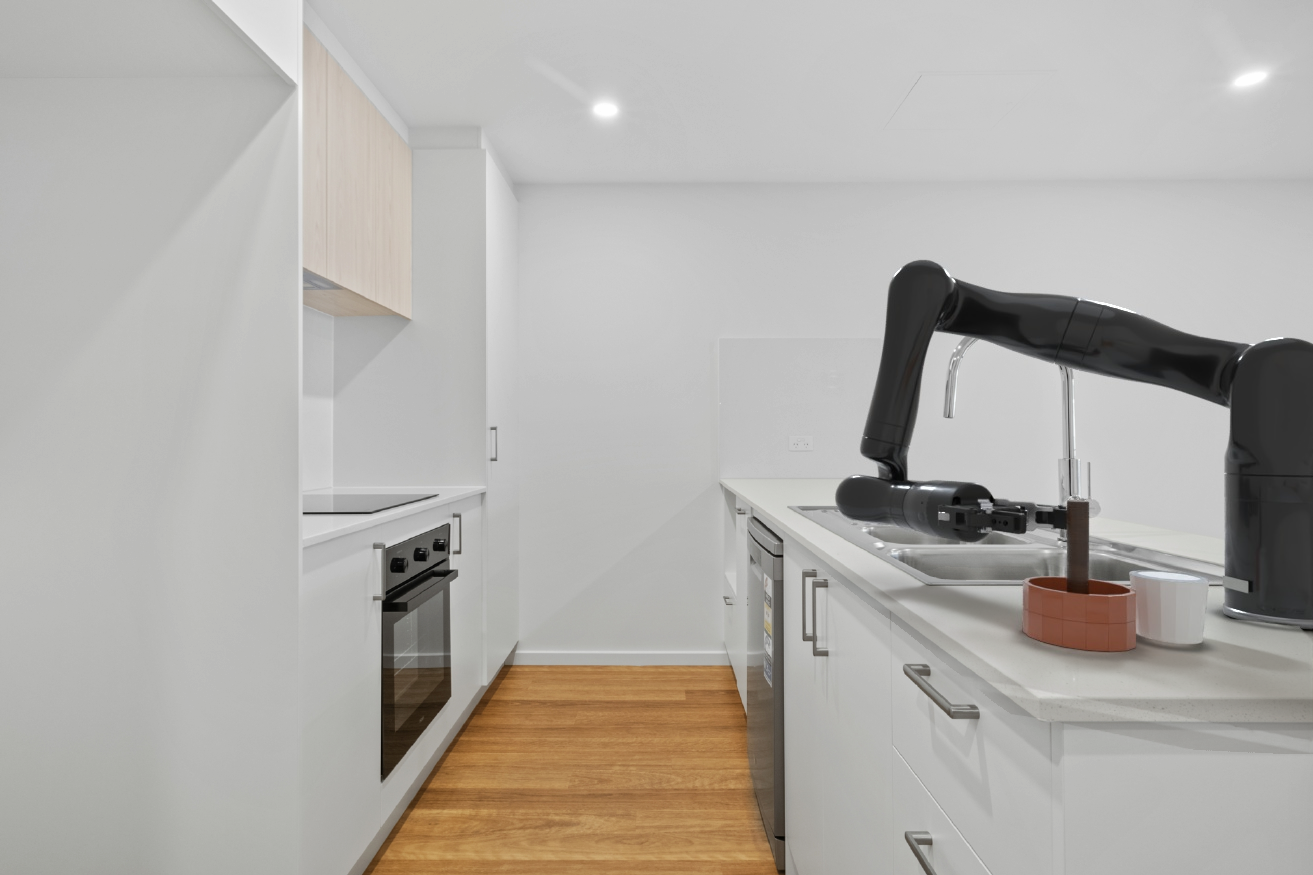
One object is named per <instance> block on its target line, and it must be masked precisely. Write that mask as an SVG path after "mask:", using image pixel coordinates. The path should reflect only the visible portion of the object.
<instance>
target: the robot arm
mask: <svg viewBox="0 0 1313 875" xmlns="http://www.w3.org/2000/svg"><path fill="white" fill-rule="evenodd" d="M885 312H886V313H885V325H884V326H885V327H884V336H883V343H882V349H881V356H880V362H879V366H878V370H877V371H878V372H877V375H876V376H877V377H876V380H875V385H874V388H873V392H872V396H871V400H870V404H869V408H868V412H867V416H866V420H865V424H864V427H863V431H862V436H861V440H860V444H859V452H860V454H861V456H862V457H864V459H867V460H869V461H872V462H874V463H875V464H876V466H877V476H871V475H865V474H852V475H849V476H847V477H845V478H844V479H843V480H842V481H840V483H839V484H838V486H837V487H836V490H835V493H834V502H835V505H836V508H837V510H838V511H839V513H840V514H841V515H842V516H843V517H845V518H846V519H848V520H851V521H856V522H860V523H861V522H862V523H869V524H875V525H881V526H892V527H897V528H900V529H903V530H908V531H914V532H919V533H923V534H925V535H927V536H931V537H935V538H936V537H937V538H942V539H947V540H952V541H957V542H963V543H968V544H969V543H977V542H981V541H982V540H984V539H985V538H987V537H988V536H989V535H990V534H993V532H999V533H1000V532H1001V533H1006V534H1008V533H1009V534H1013V535H1025V534H1026V533H1027V532H1034V531H1035V530H1037V529H1038V528H1039V529H1050V530H1053V531H1054V530H1055V531H1056V530H1065V531H1067V506H1064V505H1062V504H1057V505H1052V504H1041V503H1036V502H1035V501H1026V500H1025V501H1024V500H1021V501H1020V500H1011V499H1009V498H1005V497H1003V498H1002V497H1001V498H1000V497H994V496H993V494H992V492H991V491H990V490H989V489H988V488H987V487H986V486H984V485H982V484H980V483H978V482H970V481H957V480H943V479H942V480H941V479H932V480H918V479H917V480H916V479H909V471H908V470H909V468H908V467H909V466H908V457H909V456H908V455H909V451H910V446H911V443H912V439H913V437H914V436H913V435H914V431H915V428H916V424H917V419H918V414H919V408H920V401H921V390H922V381H923V380H922V379H923V374H924V367H925V363H926V357H927V353H928V350H929V346H930V343H931V340H932V337H933V335H934V333H935V332H936V333H941V334H949V335H954V336H955V335H956V336H961V337H967V338H971V339H977V340H981V341H984V342H987V343H990V344H993V345H997V346H999V347H1002V348H1004V349H1007V350H1008V351H1009V350H1010V351H1012V352H1015V353H1017V354H1021V355H1024V356H1026V357H1030V358H1033V359H1036V360H1040V361H1042V362H1043V361H1044V362H1046V363H1050V364H1054V365H1056V366H1061V367H1064V368H1067V369H1071V370H1076V371H1080V372H1084V373H1089V374H1093V375H1098V376H1103V377H1107V378H1113V379H1118V380H1123V381H1128V382H1134V383H1140V384H1145V385H1146V384H1148V385H1153V386H1157V387H1163V388H1166V389H1171V390H1174V391H1178V392H1180V393H1184V394H1187V395H1189V396H1193V397H1195V398H1199V399H1201V400H1204V401H1207V402H1211V403H1212V404H1216V405H1218V406H1221V407H1223V408H1226V409H1229V434H1228V441H1227V446H1226V449H1225V452H1224V455H1223V456H1224V457H1223V465H1224V466H1223V469H1224V470H1223V472H1224V480H1223V482H1224V488H1223V489H1224V492H1223V493H1224V498H1223V499H1224V575H1222V587H1223V588H1224V590H1223V594H1224V596H1223V598H1224V599H1223V600H1224V601H1223V604H1222V605H1223V606H1222V607H1223V608H1222V610H1223V611H1222V612H1223V614H1224V615H1226V616H1228V617H1230V618H1233V619H1235V620H1240V621H1245V622H1256V623H1262V624H1263V623H1264V624H1272V625H1273V624H1274V625H1281V626H1290V627H1298V628H1300V629H1301V630H1313V343H1312V342H1310V341H1308V340H1304V339H1301V338H1295V337H1274V338H1269V339H1266V340H1263V341H1260V342H1257V343H1246V342H1237V341H1230V340H1224V339H1218V338H1212V337H1208V336H1207V337H1206V336H1201V335H1196V334H1192V333H1188V332H1185V331H1182V330H1179V329H1176V328H1175V327H1171V326H1170V325H1167V324H1164V323H1163V322H1160V321H1157V320H1155V319H1153V318H1150V317H1148V316H1145V315H1143V314H1140V313H1138V312H1136V311H1132V310H1130V309H1127V308H1124V307H1120V306H1117V305H1113V304H1110V303H1106V302H1102V301H1096V300H1092V299H1088V298H1082V297H1081V298H1080V297H1077V296H1073V295H1072V296H1071V295H1065V294H1057V293H1041V292H1040V293H1039V292H1010V291H1001V290H995V289H992V288H987V287H984V286H980V285H977V284H973V283H969V282H967V281H963V280H960V279H958V278H956V277H953V276H951V274H950V273H949V272H948V270H946V269H945V267H944V266H942V265H941V264H939V263H938V262H935V261H933V260H929V259H917V260H913V261H910V262H907V263H906V264H905V265H903V266H901V267H900V268H899V269H898V270H897V271H896V272H895V273H894V275H893V276H892V277H891V280H890V281H889V285H888V288H887V299H886V311H885Z"/></svg>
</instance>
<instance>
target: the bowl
mask: <svg viewBox="0 0 1313 875" xmlns="http://www.w3.org/2000/svg"><path fill="white" fill-rule="evenodd" d="M1022 632H1023V633H1024V634H1026V636H1028V637H1029V638H1031V639H1034V640H1037V641H1039V642H1042V643H1045V644H1050V645H1054V646H1058V647H1062V648H1069V649H1076V650H1081V651H1083V650H1084V651H1093V652H1109V653H1111V652H1126V651H1129V650H1132V649H1136V648H1137V633H1136V590H1135V589H1133V588H1131V586H1128V585H1126V584H1125V585H1124V584H1121V583H1117V582H1112V581H1107V580H1106V581H1105V580H1100V579H1093V578H1089V594H1080V593H1071V592H1067V576H1058V575H1057V576H1055V575H1048V576H1047V575H1046V576H1043V575H1042V576H1032V577H1026V578H1024V579H1023V580H1022Z"/></svg>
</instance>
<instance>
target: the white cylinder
mask: <svg viewBox="0 0 1313 875" xmlns="http://www.w3.org/2000/svg"><path fill="white" fill-rule="evenodd" d="M1128 575H1129V581H1130V582H1129V583H1130V588H1133V589H1135V590H1136V635H1138V636H1140V637H1142V638H1146V639H1148V640H1153V641H1158V642H1161V643H1169V644H1177V645H1178V644H1179V645H1198V644H1201V643H1203V640H1204V630H1205V624H1206V623H1205V622H1206V614H1207V605H1208V597H1209V596H1208V595H1209V586H1210V579H1209V578H1207V577H1204V576H1200V575H1196V574H1191V573H1186V572H1179V571H1169V570H1157V569H1144V570H1141V569H1140V570H1132V571H1129V573H1128Z"/></svg>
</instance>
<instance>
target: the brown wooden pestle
mask: <svg viewBox="0 0 1313 875" xmlns="http://www.w3.org/2000/svg"><path fill="white" fill-rule="evenodd" d="M1066 510H1067V530H1066V577H1067V592H1071V593H1080V594H1089V579H1090V501H1088V500H1075V499H1074V500H1067V501H1066Z"/></svg>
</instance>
